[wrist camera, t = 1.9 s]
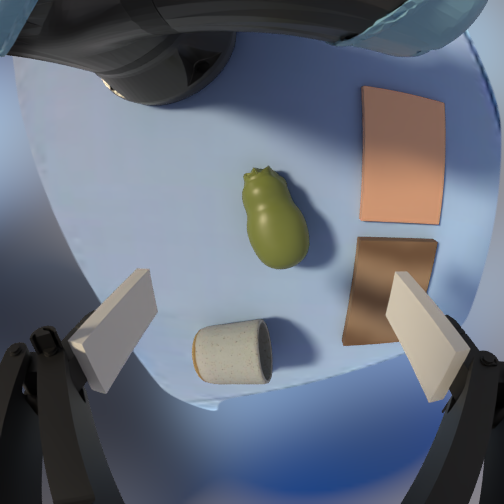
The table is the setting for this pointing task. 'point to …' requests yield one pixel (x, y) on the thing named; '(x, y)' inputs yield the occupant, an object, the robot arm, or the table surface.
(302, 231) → the green oblong lump
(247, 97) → the table surface
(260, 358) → the ceramic mug
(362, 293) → the walnut board
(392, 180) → the terracotta tile
